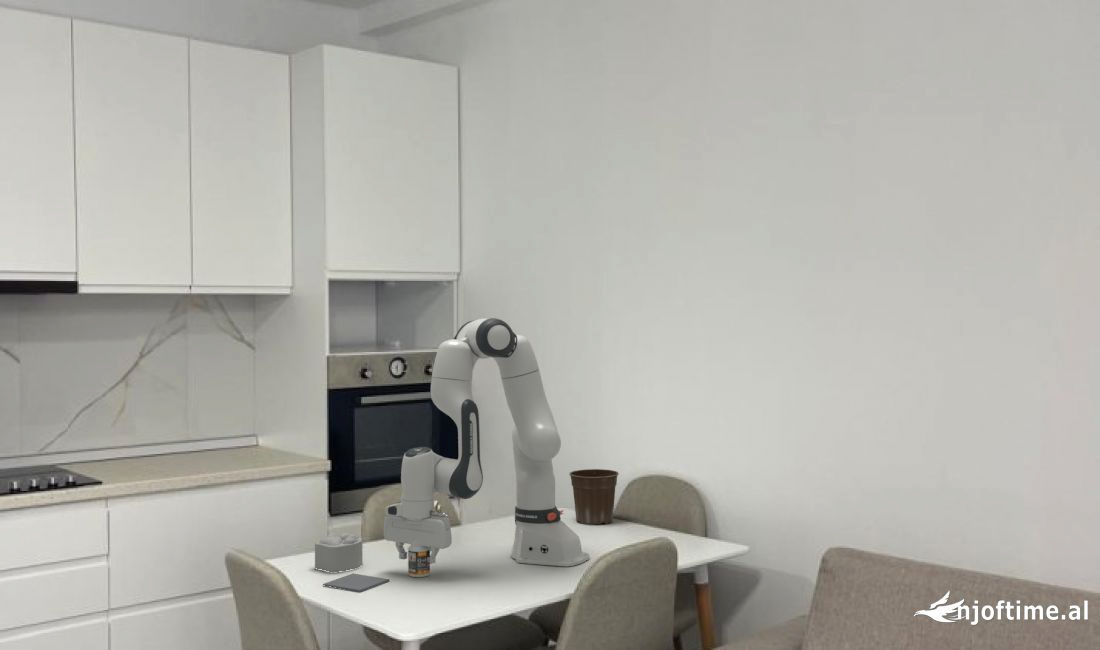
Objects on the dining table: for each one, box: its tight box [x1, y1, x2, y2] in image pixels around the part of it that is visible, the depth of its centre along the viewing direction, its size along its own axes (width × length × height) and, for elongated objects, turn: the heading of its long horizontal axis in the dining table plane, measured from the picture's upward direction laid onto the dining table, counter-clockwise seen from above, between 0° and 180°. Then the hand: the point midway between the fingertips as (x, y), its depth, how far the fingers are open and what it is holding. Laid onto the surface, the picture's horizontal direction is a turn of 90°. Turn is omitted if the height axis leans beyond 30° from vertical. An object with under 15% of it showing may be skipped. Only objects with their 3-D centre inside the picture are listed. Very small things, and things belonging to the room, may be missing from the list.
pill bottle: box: [407, 539, 431, 578], centre depth 287 cm, size 6×6×10 cm
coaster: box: [322, 573, 390, 593], centre depth 278 cm, size 12×12×1 cm
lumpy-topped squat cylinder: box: [314, 532, 363, 572], centre depth 296 cm, size 10×13×9 cm
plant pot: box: [569, 468, 620, 525], centre depth 356 cm, size 16×16×16 cm
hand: (417, 561), depth 287 cm, fingers open, 8 cm apart
